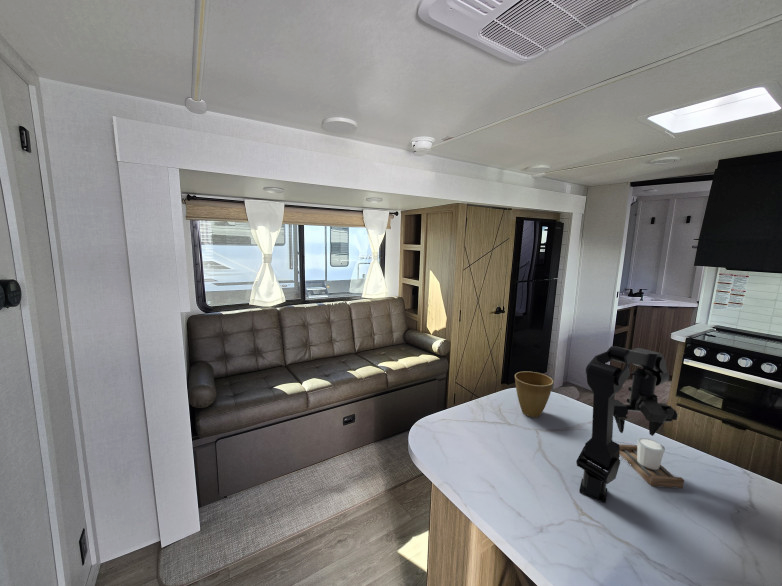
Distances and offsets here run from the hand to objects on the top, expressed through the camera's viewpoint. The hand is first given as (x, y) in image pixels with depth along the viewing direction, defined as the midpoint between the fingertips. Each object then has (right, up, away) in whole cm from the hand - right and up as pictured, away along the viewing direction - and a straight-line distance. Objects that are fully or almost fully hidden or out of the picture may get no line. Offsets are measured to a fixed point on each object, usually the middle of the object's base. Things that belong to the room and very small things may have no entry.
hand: (636, 433), depth 101 cm
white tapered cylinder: (+4, -10, 0) cm, 11 cm away
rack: (+4, -12, 0) cm, 12 cm away
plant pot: (-19, -6, +34) cm, 39 cm away
